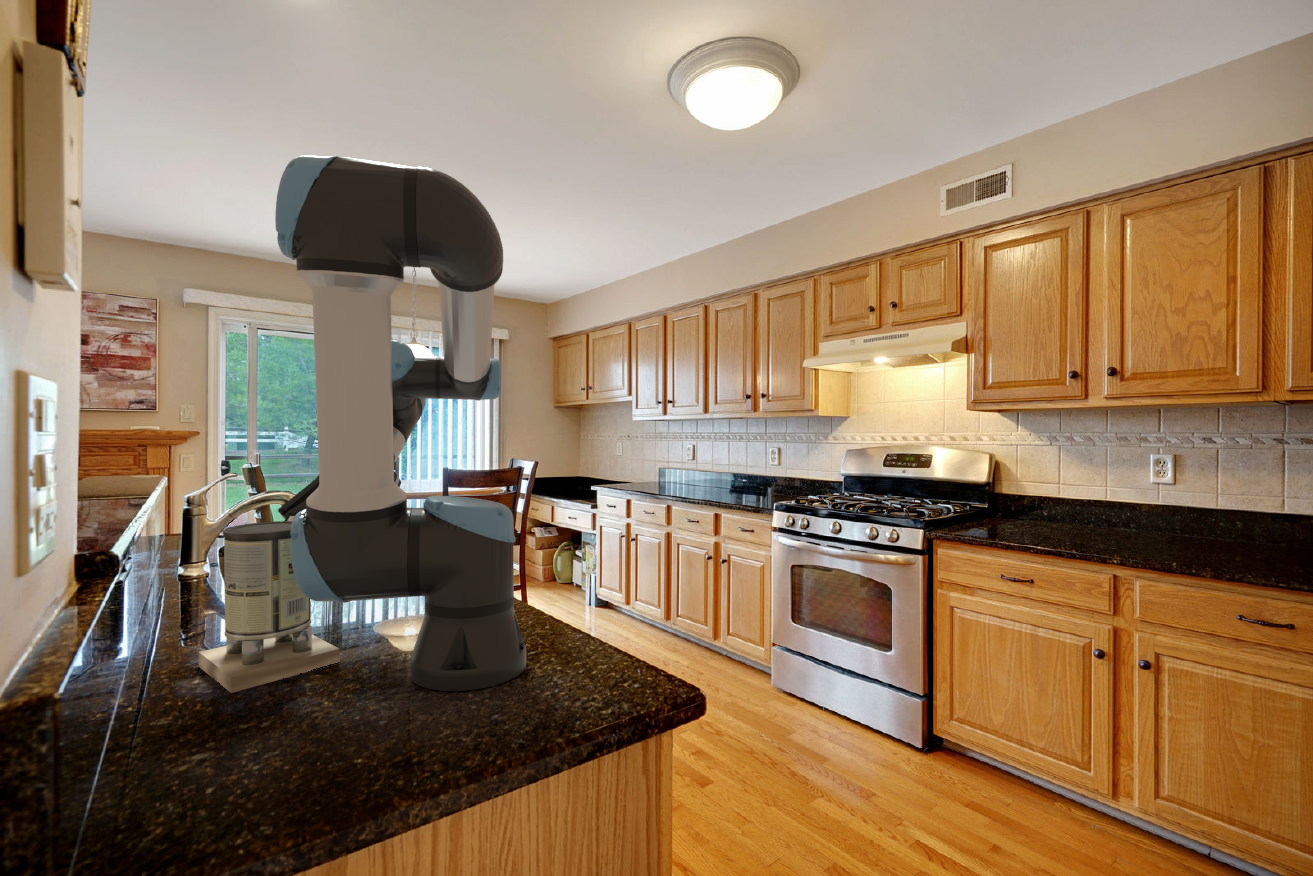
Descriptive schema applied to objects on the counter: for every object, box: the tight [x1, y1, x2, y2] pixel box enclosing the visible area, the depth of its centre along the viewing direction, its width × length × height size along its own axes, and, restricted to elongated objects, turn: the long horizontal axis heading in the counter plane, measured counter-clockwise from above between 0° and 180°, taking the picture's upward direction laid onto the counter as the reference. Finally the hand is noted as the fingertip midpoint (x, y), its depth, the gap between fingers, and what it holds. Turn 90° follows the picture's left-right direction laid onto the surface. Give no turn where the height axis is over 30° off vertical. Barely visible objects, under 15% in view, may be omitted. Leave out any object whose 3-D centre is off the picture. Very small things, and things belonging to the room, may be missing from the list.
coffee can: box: [222, 520, 312, 640], centre depth 86 cm, size 10×10×14 cm
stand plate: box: [198, 634, 341, 694], centre depth 86 cm, size 13×13×2 cm
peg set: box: [225, 624, 313, 665], centre depth 86 cm, size 8×8×3 cm
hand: (315, 558), depth 95 cm, fingers open, 13 cm apart
